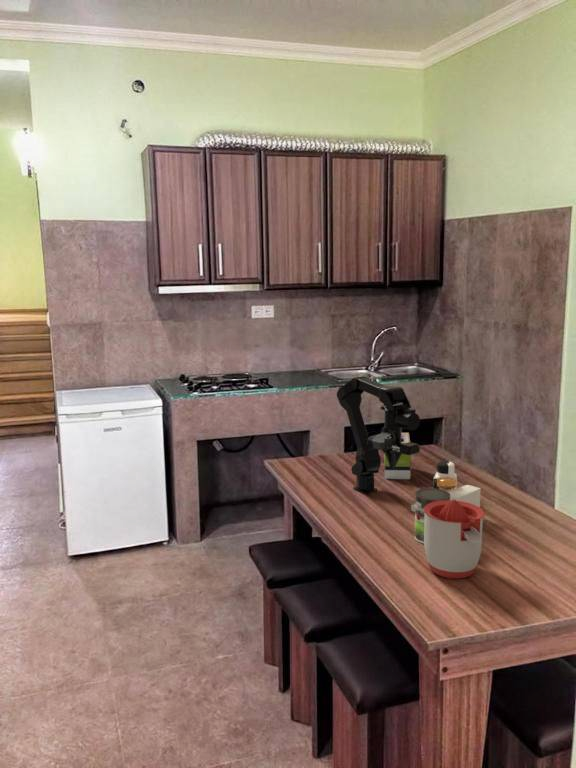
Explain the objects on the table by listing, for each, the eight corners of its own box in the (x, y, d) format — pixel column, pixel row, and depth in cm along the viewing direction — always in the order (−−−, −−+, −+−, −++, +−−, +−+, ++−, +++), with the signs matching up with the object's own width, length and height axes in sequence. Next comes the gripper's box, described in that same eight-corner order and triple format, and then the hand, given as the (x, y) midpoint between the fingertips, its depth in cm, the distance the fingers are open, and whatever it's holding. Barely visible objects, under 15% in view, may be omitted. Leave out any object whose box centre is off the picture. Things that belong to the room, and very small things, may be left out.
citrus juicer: (449, 591, 170) (452, 516, 166) (411, 563, 186) (412, 494, 182) (498, 578, 176) (502, 506, 172) (457, 553, 192) (459, 486, 188)
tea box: (384, 467, 271) (384, 431, 268) (409, 467, 270) (409, 432, 267) (384, 479, 256) (384, 441, 254) (410, 480, 255) (411, 442, 252)
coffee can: (427, 548, 195) (428, 502, 193) (407, 535, 205) (408, 491, 202) (456, 541, 199) (457, 496, 197) (435, 529, 209) (436, 485, 206)
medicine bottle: (432, 497, 236) (433, 464, 234) (436, 490, 243) (437, 458, 241) (453, 499, 234) (454, 466, 232) (456, 492, 240) (457, 460, 238)
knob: (432, 508, 219) (433, 479, 217) (443, 504, 223) (444, 475, 221) (448, 513, 214) (448, 483, 213) (459, 509, 218) (459, 479, 217)
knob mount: (407, 512, 223) (407, 483, 221) (431, 502, 231) (431, 474, 229) (456, 528, 209) (456, 498, 207) (479, 517, 217) (480, 488, 215)
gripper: (356, 423, 229) (356, 467, 232) (399, 433, 215) (398, 480, 218) (377, 418, 236) (377, 461, 239) (421, 427, 222) (420, 472, 225)
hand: (392, 468), depth 230 cm, fingers closed
